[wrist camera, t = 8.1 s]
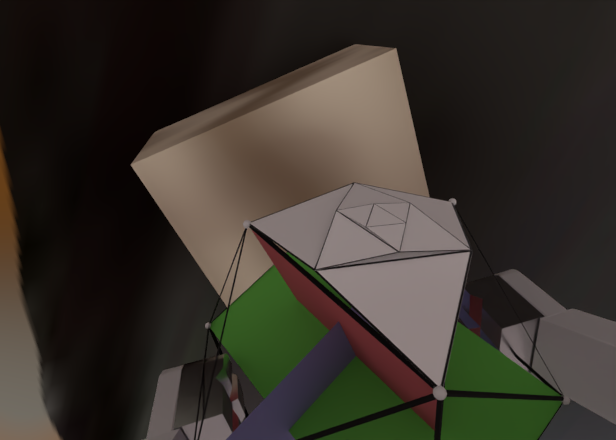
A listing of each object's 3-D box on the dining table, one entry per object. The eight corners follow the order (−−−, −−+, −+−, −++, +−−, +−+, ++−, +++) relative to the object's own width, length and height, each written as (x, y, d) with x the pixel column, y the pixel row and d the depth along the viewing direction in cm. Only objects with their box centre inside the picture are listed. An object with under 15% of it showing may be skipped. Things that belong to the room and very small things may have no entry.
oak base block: (352, 44, 15) (395, 48, 11) (401, 216, 20) (444, 263, 16) (155, 130, 15) (130, 164, 11) (248, 283, 20) (253, 345, 16)
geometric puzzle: (466, 346, 12) (797, 400, 5) (327, 519, 11) (505, 1046, 3) (322, 198, 13) (411, 36, 5) (168, 337, 11) (-21, 387, 4)
